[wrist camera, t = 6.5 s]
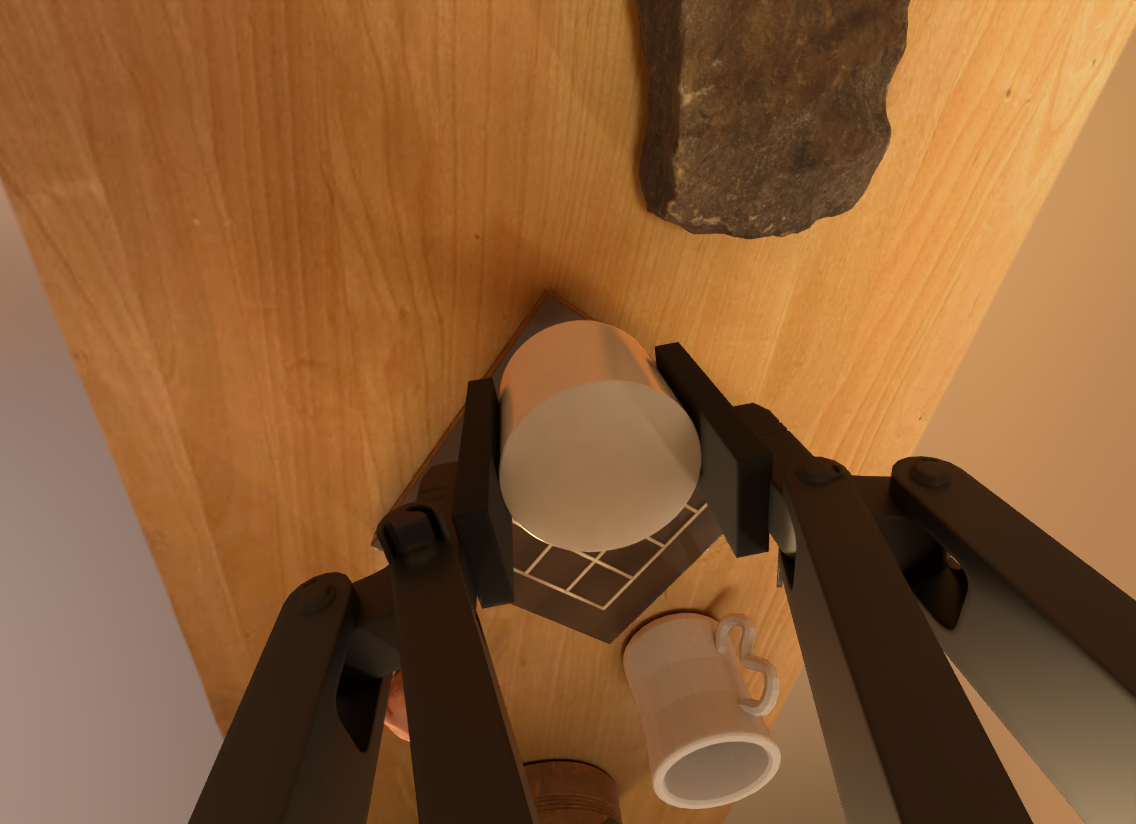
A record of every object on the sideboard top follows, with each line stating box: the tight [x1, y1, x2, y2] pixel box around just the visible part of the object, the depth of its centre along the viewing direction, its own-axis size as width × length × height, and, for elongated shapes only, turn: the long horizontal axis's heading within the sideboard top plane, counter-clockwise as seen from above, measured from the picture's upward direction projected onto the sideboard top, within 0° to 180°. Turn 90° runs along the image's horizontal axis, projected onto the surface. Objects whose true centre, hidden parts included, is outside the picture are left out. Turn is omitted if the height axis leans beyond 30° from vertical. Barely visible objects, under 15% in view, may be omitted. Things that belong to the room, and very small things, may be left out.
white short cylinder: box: [498, 320, 702, 552], centre depth 15 cm, size 5×5×4 cm
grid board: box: [371, 288, 723, 644], centre depth 34 cm, size 20×20×1 cm
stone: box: [636, 0, 910, 239], centre depth 22 cm, size 10×14×6 cm
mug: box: [623, 613, 781, 809], centre depth 39 cm, size 12×9×10 cm
